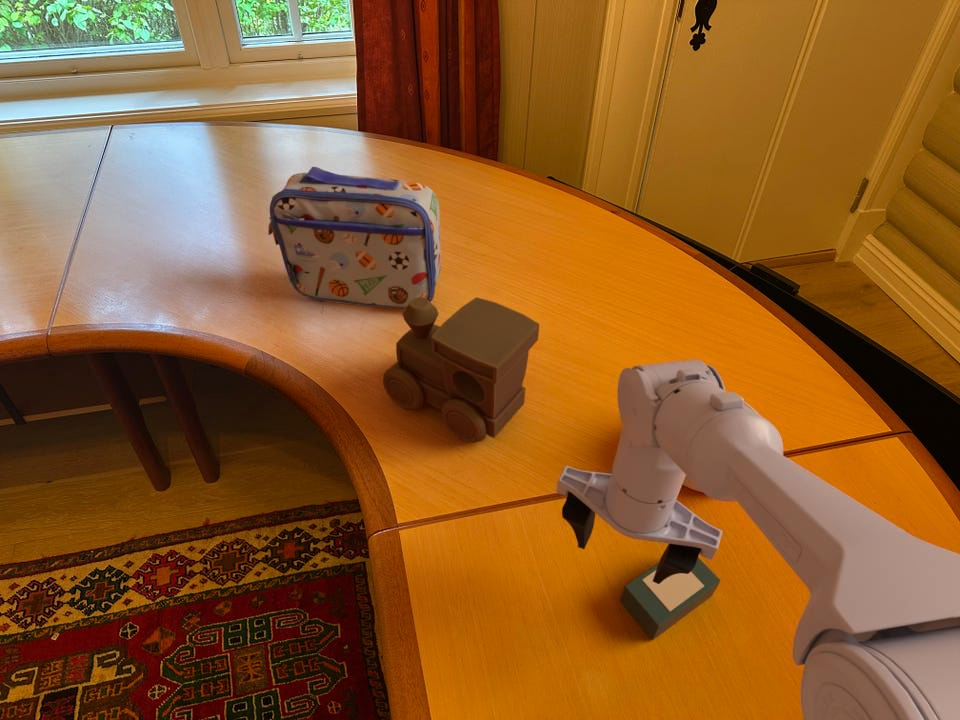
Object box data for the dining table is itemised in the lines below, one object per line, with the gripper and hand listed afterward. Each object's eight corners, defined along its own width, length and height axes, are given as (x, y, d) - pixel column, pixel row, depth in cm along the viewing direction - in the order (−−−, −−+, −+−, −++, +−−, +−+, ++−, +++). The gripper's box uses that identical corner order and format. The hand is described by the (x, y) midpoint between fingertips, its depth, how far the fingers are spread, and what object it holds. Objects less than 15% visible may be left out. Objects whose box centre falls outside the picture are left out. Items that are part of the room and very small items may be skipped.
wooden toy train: (536, 409, 86) (544, 318, 75) (491, 462, 79) (493, 371, 68) (426, 354, 94) (418, 265, 83) (376, 398, 87) (361, 308, 76)
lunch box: (278, 304, 104) (244, 185, 88) (300, 270, 111) (272, 154, 96) (436, 319, 101) (428, 199, 86) (447, 283, 108) (442, 166, 93)
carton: (678, 559, 69) (685, 543, 67) (712, 595, 66) (721, 580, 63) (619, 601, 65) (624, 585, 63) (652, 641, 62) (659, 626, 60)
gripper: (745, 474, 51) (704, 556, 60) (583, 412, 56) (568, 497, 65) (727, 541, 46) (685, 618, 56) (552, 467, 51) (541, 549, 61)
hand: (620, 556), depth 60 cm, fingers open, 7 cm apart
